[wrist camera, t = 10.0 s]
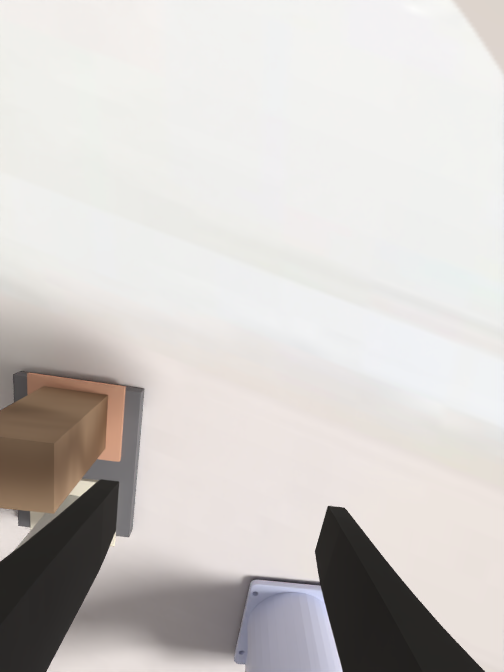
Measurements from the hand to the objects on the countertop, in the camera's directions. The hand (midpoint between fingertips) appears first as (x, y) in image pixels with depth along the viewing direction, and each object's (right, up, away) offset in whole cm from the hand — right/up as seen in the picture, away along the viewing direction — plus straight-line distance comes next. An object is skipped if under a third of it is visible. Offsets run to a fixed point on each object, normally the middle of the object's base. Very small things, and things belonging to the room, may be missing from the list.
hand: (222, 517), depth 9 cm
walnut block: (-11, +1, +8) cm, 14 cm away
